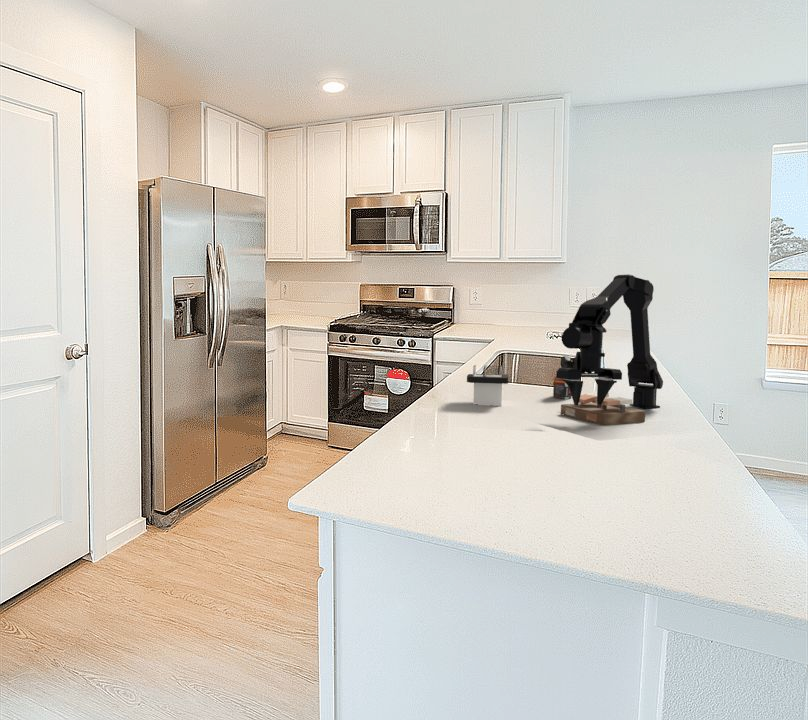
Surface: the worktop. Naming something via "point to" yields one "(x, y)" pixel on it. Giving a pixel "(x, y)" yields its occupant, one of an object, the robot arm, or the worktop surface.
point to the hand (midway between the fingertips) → (587, 404)
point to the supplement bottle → (561, 389)
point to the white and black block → (488, 386)
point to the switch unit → (603, 413)
